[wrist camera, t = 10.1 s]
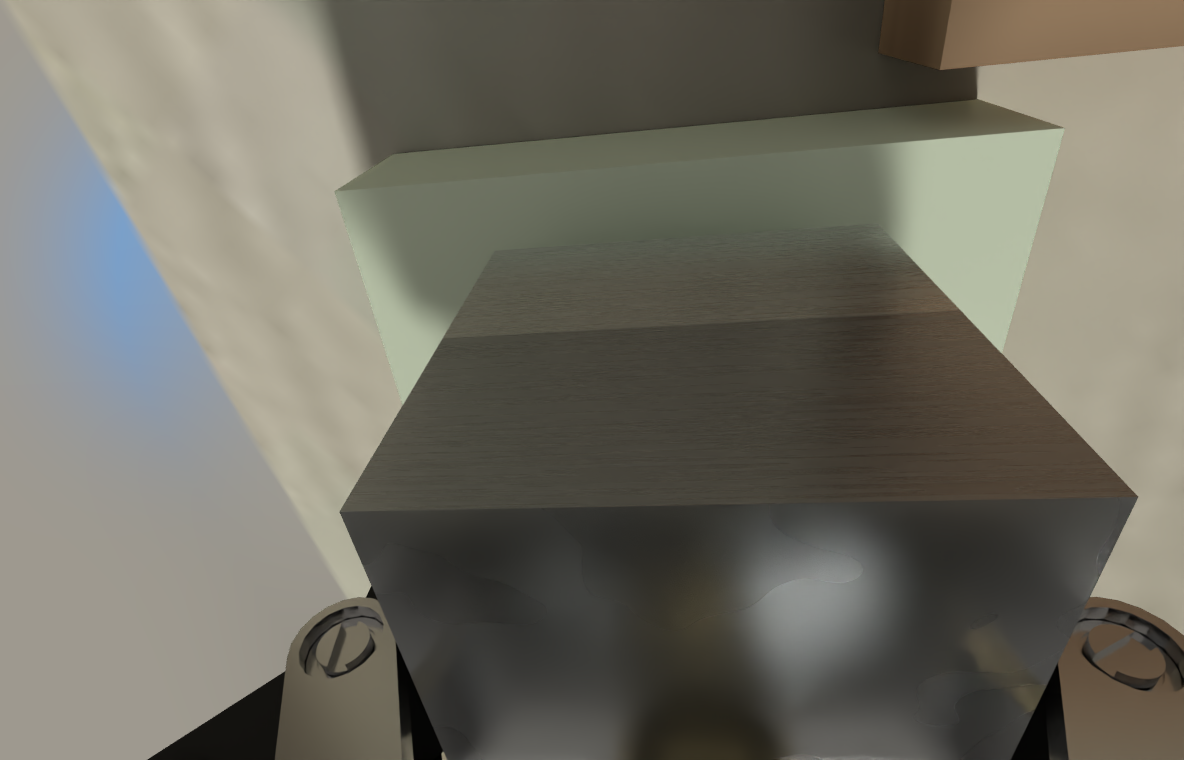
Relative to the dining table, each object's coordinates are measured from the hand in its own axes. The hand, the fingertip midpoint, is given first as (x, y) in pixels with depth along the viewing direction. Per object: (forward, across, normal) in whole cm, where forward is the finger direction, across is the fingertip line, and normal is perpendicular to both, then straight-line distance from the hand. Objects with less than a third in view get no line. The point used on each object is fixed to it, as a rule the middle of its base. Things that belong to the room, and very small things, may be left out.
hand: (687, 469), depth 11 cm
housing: (+1, 0, 0) cm, 1 cm away
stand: (+5, 0, 0) cm, 5 cm away
